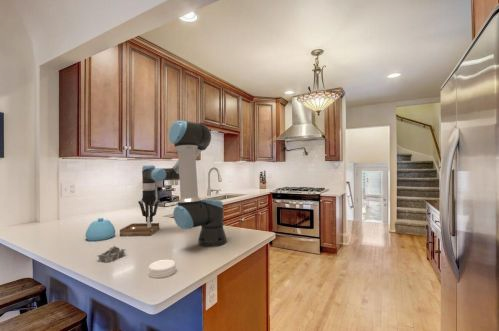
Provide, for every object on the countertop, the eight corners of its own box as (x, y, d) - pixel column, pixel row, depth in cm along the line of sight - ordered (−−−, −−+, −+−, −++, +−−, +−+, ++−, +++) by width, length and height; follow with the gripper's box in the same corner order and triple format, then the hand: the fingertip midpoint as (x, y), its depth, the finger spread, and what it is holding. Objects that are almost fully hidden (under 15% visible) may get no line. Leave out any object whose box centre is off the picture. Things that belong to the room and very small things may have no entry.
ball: (132, 234, 153) (136, 230, 153) (128, 231, 153) (131, 226, 153) (135, 232, 157) (138, 228, 157) (130, 229, 156) (134, 225, 157)
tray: (150, 235, 147) (150, 229, 147) (119, 236, 146) (119, 229, 147) (159, 229, 163) (159, 223, 163) (131, 229, 162) (131, 223, 163)
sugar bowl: (120, 234, 151) (120, 215, 151) (103, 242, 136) (103, 221, 136) (98, 234, 152) (97, 215, 152) (78, 241, 137) (78, 220, 138)
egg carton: (115, 253, 118) (115, 245, 118) (127, 255, 115) (127, 246, 116) (95, 261, 108) (95, 252, 108) (107, 263, 105) (107, 254, 106)
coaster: (163, 280, 89) (163, 270, 89) (142, 276, 93) (142, 267, 93) (181, 269, 99) (181, 260, 99) (161, 266, 102) (161, 257, 102)
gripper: (161, 189, 159) (161, 225, 159) (140, 189, 158) (141, 226, 158) (157, 190, 151) (157, 228, 151) (135, 190, 151) (136, 229, 151)
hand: (149, 227), depth 155 cm, fingers closed
